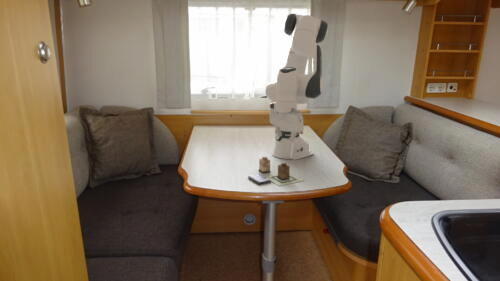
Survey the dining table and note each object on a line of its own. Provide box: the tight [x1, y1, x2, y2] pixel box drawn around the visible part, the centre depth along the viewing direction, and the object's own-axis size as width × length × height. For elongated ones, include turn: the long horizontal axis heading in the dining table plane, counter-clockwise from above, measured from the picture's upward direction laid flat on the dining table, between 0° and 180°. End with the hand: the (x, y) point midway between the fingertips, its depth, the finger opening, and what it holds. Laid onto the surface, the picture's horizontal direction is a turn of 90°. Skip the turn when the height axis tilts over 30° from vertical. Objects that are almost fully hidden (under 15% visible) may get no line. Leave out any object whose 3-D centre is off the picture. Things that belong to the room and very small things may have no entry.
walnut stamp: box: [277, 162, 291, 181], centre depth 161 cm, size 4×4×7 cm
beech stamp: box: [258, 156, 271, 175], centre depth 169 cm, size 4×4×7 cm
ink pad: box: [247, 173, 272, 186], centre depth 159 cm, size 6×9×1 cm, turn 30°
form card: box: [264, 172, 305, 187], centre depth 162 cm, size 13×12×1 cm
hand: (285, 138), depth 157 cm, fingers open, 8 cm apart
